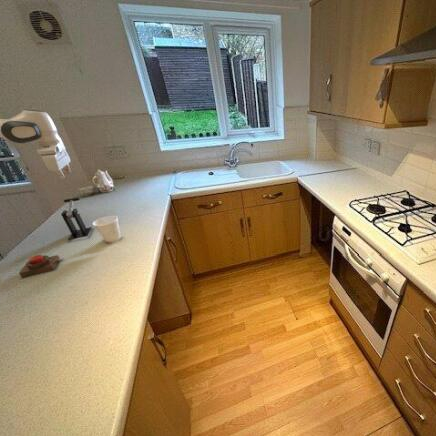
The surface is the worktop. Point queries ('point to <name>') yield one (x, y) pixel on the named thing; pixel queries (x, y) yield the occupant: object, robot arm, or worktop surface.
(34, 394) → the worktop surface
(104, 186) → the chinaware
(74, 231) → the bracket
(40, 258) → the button
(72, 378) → the worktop surface
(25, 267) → the button block
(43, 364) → the worktop surface
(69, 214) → the lever
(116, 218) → the cup
